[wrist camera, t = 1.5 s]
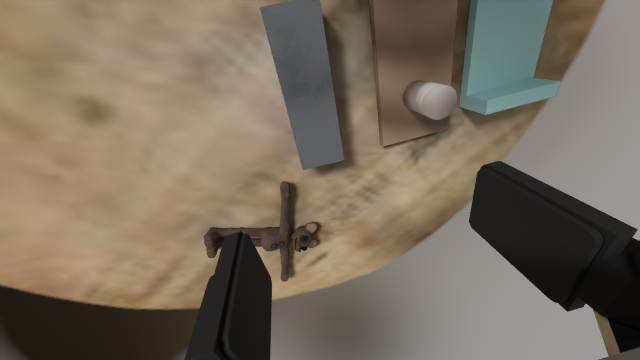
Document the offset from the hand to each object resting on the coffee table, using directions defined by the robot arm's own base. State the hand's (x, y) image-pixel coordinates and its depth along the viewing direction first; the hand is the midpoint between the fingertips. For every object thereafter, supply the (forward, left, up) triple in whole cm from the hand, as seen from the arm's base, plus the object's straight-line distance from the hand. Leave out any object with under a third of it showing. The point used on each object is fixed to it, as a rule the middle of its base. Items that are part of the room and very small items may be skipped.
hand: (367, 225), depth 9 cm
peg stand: (-5, +11, -18) cm, 22 cm away
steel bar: (-3, 0, -19) cm, 19 cm away
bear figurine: (+14, -10, -19) cm, 26 cm away
